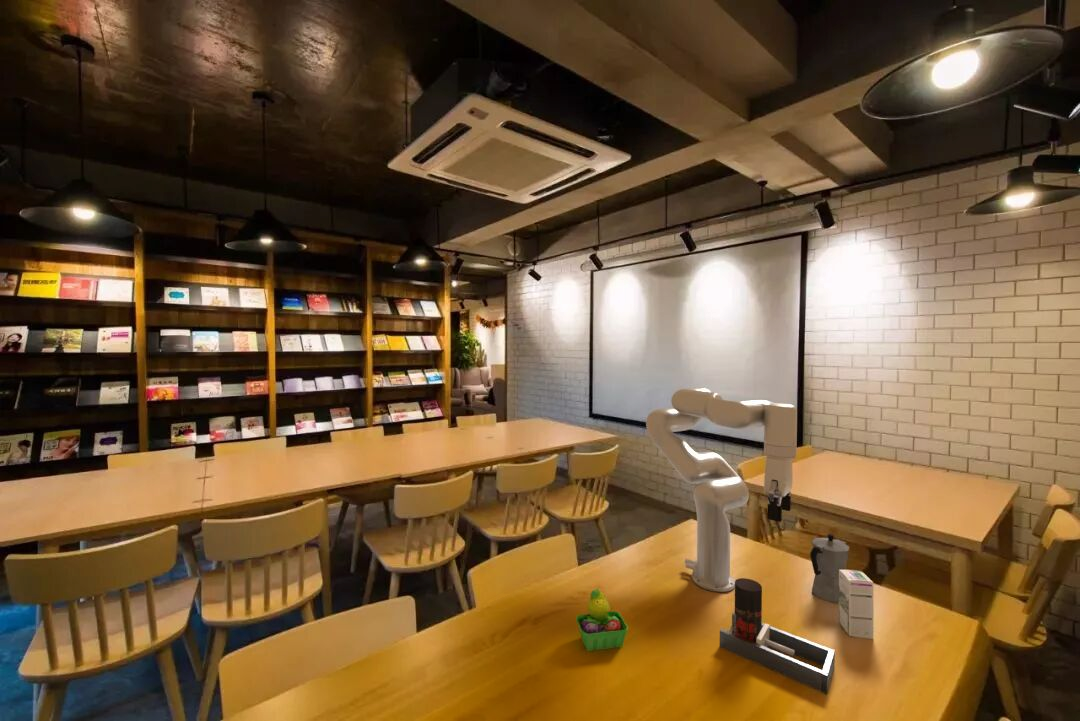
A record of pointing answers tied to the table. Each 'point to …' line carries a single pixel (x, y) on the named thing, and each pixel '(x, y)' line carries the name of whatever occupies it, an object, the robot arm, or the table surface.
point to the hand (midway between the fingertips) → (779, 514)
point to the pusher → (764, 641)
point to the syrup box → (856, 603)
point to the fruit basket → (601, 624)
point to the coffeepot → (828, 566)
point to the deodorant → (748, 609)
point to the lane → (782, 662)
